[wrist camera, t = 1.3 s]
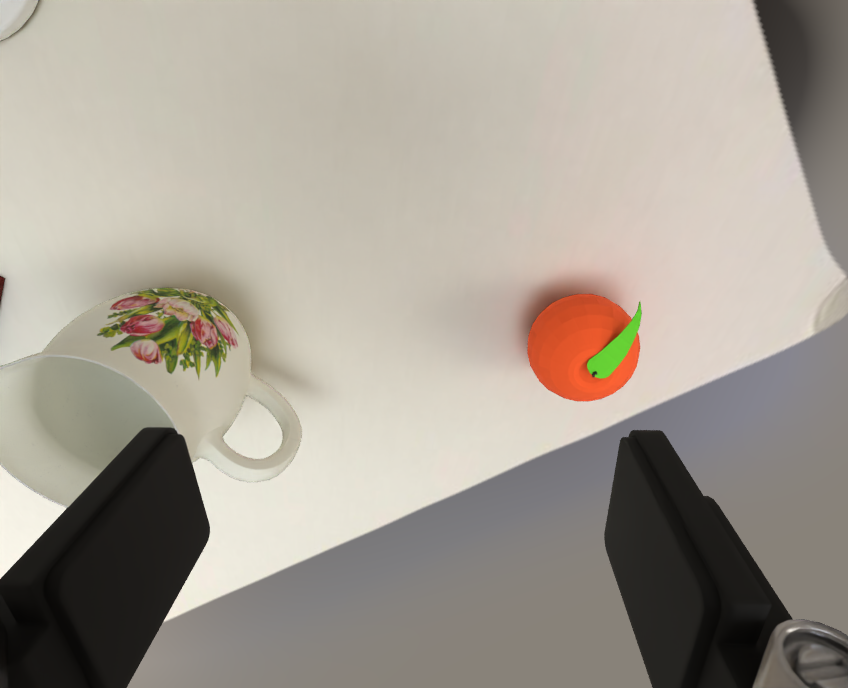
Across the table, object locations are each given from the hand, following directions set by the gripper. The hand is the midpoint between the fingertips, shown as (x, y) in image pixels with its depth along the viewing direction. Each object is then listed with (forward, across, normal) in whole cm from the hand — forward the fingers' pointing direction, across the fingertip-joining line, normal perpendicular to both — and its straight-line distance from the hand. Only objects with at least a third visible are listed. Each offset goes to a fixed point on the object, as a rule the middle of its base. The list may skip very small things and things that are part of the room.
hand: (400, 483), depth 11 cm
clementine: (+25, -10, +7) cm, 28 cm away
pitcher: (+25, +17, +8) cm, 31 cm away
